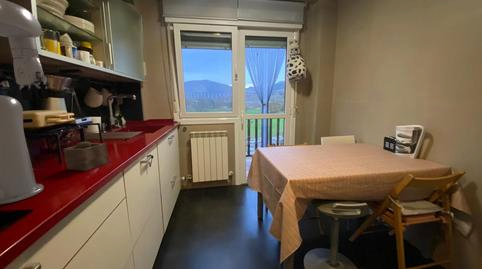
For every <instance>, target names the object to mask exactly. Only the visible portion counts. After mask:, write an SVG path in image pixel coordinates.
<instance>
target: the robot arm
mask: <svg viewBox="0 0 482 269" xmlns="http://www.w3.org/2000/svg"><path fill="white" fill-rule="evenodd" d="M42 31H43V30H42V25H41V24H40V21H39V20H38V19H37V18H36V17H35V15H33V14H32V12H30V11H29V10H28V9H26V8H25V7H23V6H21V5H19V4H17V3H15V2H12V1H9V0H0V37H4V38H7V39H8V43H9V47H10V52H11V55H12V59H13V63H12V64H13V72H14V77H15V82H16V84H17V86H18V87H19V90H20V93H21V98H22V100H23V101H26V100H27V101H28V100H31V101H32V100H34V96H33V94H32V93H33V92H32V89H31V86H33V85H34V86H35V87H36V89H35V90H36V94H37V99H39V100H49V95H48V90H47V89H48V86H47V85H48V77H47V76H46V75H44V74H45V73H44V71H43V70H44V69H43V67H42V64H41V61H40V60H41V59H40V56H39V51H38V46H37V42H36V38H39V37H41V35H42V33H43V32H42ZM26 140H27V139H26V136H25V131H24V108H23V106H22V104H21V103H20V101H19V100H18V99H16V98H14V97H11V96H8V95H1V94H0V205H4V204H11V203H15V202H19V201H22V200H25V199H28V198H31V197H33V196H35V195H38V194H39V193H41V192H42V191H43V190H44V185H43V184H41V183H37V182H36V178H35V173H34V170H33V166H32V162H31V157H30V153H29V149H28V145H27V144H28V143H27V142H26Z"/></svg>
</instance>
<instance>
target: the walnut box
mask: <svg viewBox="0 0 482 269" xmlns="http://www.w3.org/2000/svg"><path fill="white" fill-rule="evenodd" d="M90 143H91V147H88V148H85V149H77V145H74V146H71V147H69V146H68V147H66V148H63V150H62V151H63V154H64V160H65V164H66V169H67V170H74V171H75V170H76V171H86V172H87V171H90V170H92V169H94V168H95V169H96V168H97V167H100V166H103V165H106V164H108V163H110V161H109V155H108V154H109V153H108V149H107V143H99V142H98V143H97V142H95V143H94V142H90Z"/></svg>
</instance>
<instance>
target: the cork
mask: <svg viewBox="0 0 482 269" xmlns="http://www.w3.org/2000/svg"><path fill="white" fill-rule="evenodd" d="M91 143H92V142H90V141H80V142H78V143H76V146H77V149H85V148H88V147H91Z"/></svg>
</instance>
